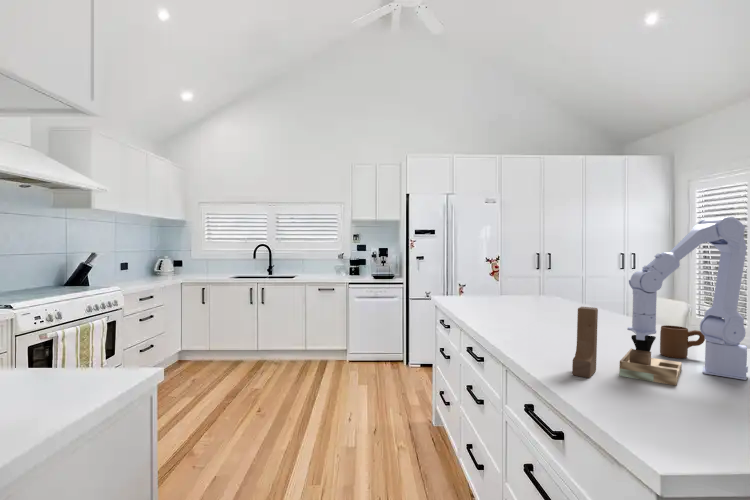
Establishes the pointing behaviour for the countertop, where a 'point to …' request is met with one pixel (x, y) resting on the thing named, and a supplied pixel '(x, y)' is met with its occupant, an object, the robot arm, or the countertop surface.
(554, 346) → the countertop surface
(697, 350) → the countertop surface
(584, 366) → the wooden block
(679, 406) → the countertop surface
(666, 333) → the mug
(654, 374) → the platform
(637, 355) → the walnut block
